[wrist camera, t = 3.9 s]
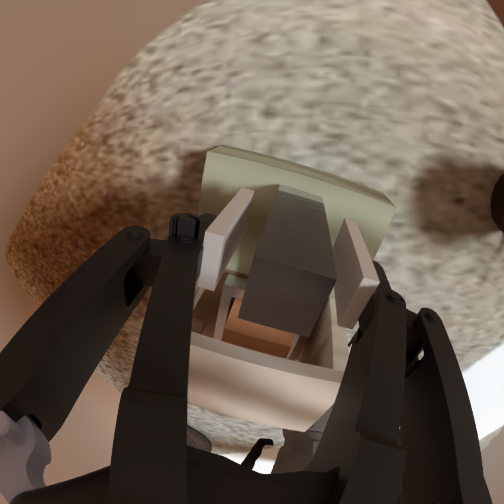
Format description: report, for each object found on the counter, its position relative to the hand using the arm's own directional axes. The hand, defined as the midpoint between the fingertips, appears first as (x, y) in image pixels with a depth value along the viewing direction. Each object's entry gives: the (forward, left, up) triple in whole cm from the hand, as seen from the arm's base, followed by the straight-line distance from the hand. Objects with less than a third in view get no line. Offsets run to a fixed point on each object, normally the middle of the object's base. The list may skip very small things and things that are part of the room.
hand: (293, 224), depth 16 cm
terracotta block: (-10, 0, -3) cm, 11 cm away
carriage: (-6, 0, -3) cm, 7 cm away
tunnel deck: (-10, 0, -7) cm, 13 cm away
